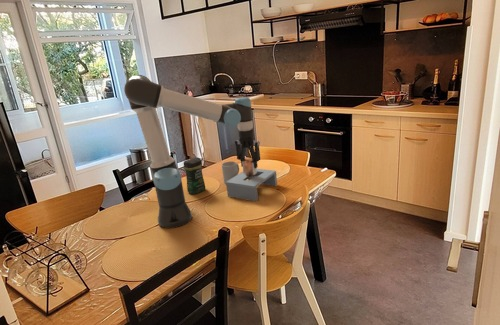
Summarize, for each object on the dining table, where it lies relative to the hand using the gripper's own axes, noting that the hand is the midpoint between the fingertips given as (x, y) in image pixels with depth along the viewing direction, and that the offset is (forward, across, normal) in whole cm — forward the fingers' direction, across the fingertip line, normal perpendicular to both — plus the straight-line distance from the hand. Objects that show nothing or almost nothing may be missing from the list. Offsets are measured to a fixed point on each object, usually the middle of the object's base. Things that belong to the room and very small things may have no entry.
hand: (250, 173), depth 173 cm
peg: (+8, 0, 0) cm, 8 cm away
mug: (+10, +18, -9) cm, 23 cm away
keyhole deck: (+10, 0, -1) cm, 10 cm away
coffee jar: (+10, +29, +10) cm, 33 cm away
